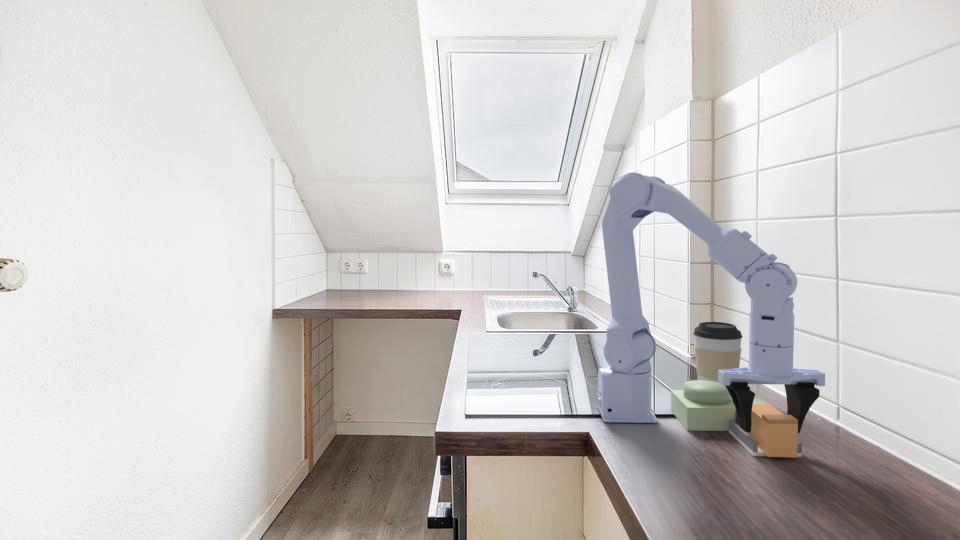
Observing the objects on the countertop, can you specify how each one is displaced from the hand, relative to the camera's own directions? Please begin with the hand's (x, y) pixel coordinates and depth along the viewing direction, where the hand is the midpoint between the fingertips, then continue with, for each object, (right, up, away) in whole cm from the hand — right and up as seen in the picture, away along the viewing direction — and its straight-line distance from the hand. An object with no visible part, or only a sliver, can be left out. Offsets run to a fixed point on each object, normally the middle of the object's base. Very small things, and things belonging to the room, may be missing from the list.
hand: (769, 430), depth 71 cm
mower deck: (-2, -3, +7) cm, 8 cm away
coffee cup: (+5, -1, +25) cm, 25 cm away
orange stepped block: (0, -2, 0) cm, 2 cm away
